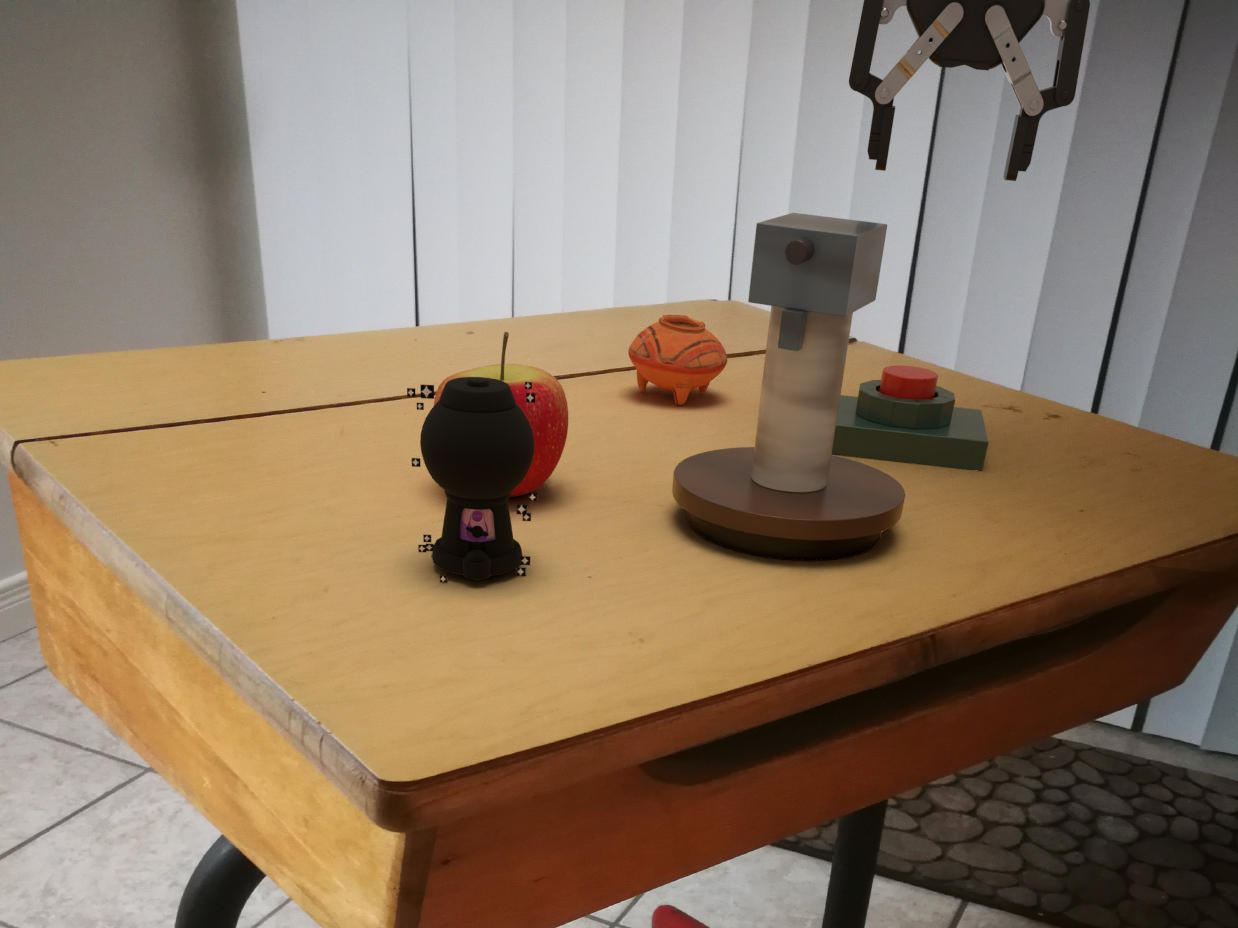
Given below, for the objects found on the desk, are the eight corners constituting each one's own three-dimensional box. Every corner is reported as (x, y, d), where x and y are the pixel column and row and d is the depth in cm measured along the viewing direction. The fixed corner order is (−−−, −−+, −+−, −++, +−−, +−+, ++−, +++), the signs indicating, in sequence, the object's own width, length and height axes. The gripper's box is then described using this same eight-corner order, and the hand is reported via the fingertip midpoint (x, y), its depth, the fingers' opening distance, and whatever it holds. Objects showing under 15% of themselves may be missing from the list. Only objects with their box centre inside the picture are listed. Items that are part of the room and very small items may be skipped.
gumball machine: (408, 586, 67) (402, 391, 61) (415, 546, 72) (410, 362, 66) (536, 590, 67) (542, 397, 62) (534, 549, 72) (538, 368, 67)
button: (933, 393, 94) (937, 368, 94) (934, 406, 91) (939, 380, 90) (878, 387, 95) (883, 362, 94) (878, 400, 92) (882, 375, 91)
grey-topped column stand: (721, 452, 85) (748, 198, 77) (926, 491, 81) (977, 225, 72) (634, 509, 74) (654, 220, 66) (865, 558, 70) (917, 254, 61)
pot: (675, 375, 108) (696, 296, 104) (730, 420, 104) (755, 340, 99) (599, 381, 104) (618, 299, 99) (654, 428, 100) (676, 344, 95)
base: (881, 506, 83) (885, 486, 82) (879, 571, 73) (883, 550, 72) (699, 485, 84) (701, 465, 83) (672, 546, 74) (674, 524, 73)
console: (975, 438, 98) (987, 385, 96) (982, 472, 90) (994, 415, 88) (820, 421, 99) (827, 368, 97) (813, 453, 92) (821, 397, 90)
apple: (441, 514, 76) (438, 340, 71) (429, 471, 83) (425, 309, 78) (576, 513, 78) (583, 342, 73) (553, 470, 85) (558, 311, 80)
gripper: (1110, -115, 78) (1046, 178, 87) (878, -128, 80) (839, 161, 89) (1130, -128, 72) (1059, 189, 81) (878, -142, 74) (835, 171, 83)
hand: (944, 174), depth 85 cm, fingers open, 8 cm apart
